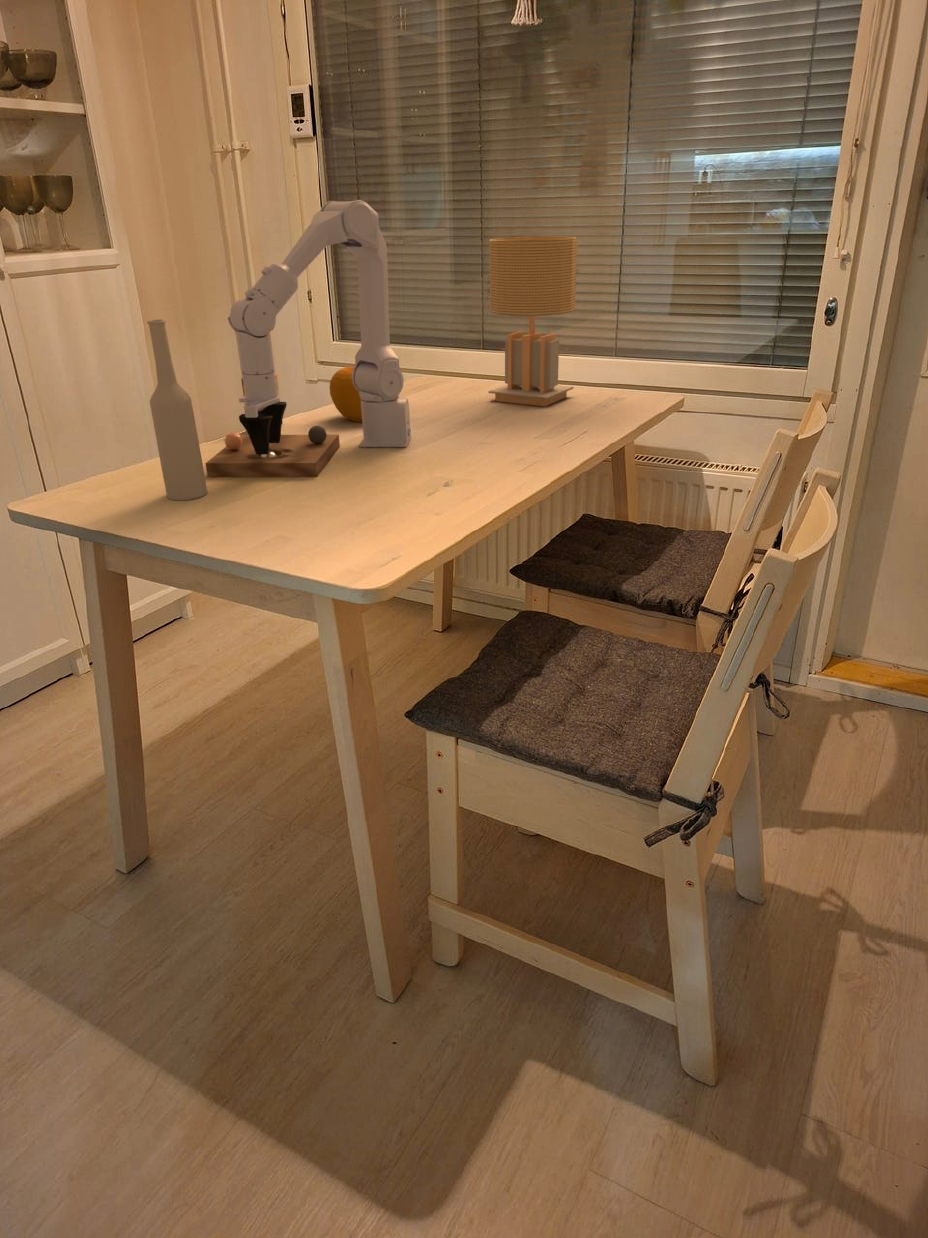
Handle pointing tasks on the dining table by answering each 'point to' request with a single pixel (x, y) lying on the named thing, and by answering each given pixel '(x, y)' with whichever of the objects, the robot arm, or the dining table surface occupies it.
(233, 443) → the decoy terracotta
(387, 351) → the robot arm
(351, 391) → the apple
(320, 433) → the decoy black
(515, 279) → the desk lamp
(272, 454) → the steel ball
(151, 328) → the bottle
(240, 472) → the board
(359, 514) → the dining table surface
